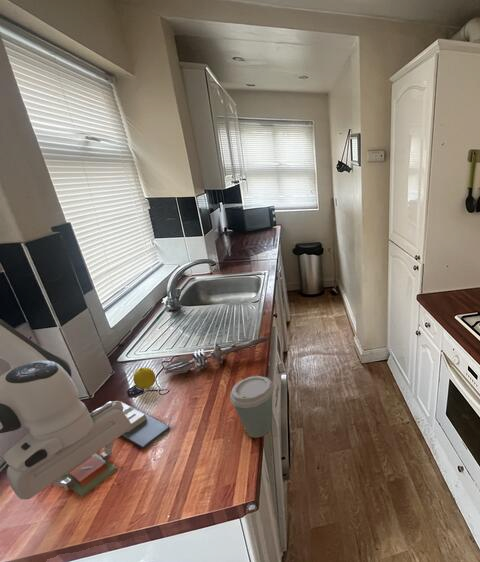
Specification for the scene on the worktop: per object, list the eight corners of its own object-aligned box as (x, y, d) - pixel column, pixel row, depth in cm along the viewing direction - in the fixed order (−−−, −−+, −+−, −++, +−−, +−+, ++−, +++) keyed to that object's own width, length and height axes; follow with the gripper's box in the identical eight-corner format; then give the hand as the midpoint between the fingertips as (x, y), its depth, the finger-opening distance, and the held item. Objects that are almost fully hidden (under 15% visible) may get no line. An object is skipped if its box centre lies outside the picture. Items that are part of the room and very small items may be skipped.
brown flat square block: (71, 478, 71) (68, 472, 70) (97, 460, 75) (94, 454, 74) (82, 487, 69) (79, 481, 68) (108, 468, 73) (105, 462, 72)
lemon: (161, 386, 101) (154, 366, 98) (142, 396, 97) (134, 376, 93) (153, 380, 104) (146, 360, 101) (135, 390, 99) (126, 370, 96)
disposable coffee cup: (249, 413, 89) (239, 371, 83) (286, 413, 89) (278, 371, 83) (232, 445, 79) (220, 400, 74) (273, 445, 79) (264, 400, 73)
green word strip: (36, 459, 77) (31, 451, 76) (71, 438, 83) (67, 430, 82) (81, 497, 68) (76, 488, 67) (117, 469, 74) (113, 461, 73)
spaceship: (268, 339, 110) (264, 323, 115) (158, 375, 99) (159, 355, 104) (272, 351, 116) (268, 335, 121) (169, 386, 105) (169, 367, 110)
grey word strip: (97, 421, 88) (94, 414, 87) (124, 404, 93) (121, 397, 92) (143, 449, 79) (140, 441, 78) (170, 429, 85) (167, 421, 83)
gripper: (111, 393, 77) (129, 433, 82) (-9, 462, 60) (24, 507, 65) (125, 400, 74) (143, 441, 79) (4, 475, 57) (38, 521, 62)
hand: (89, 472), depth 72 cm, fingers open, 6 cm apart
